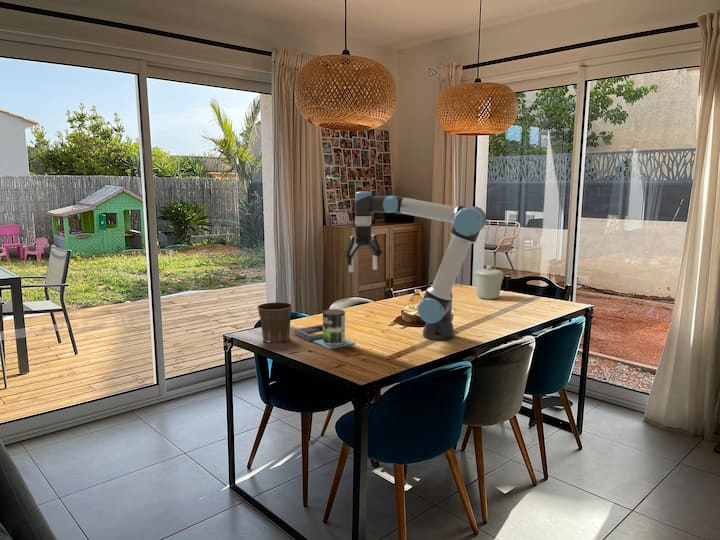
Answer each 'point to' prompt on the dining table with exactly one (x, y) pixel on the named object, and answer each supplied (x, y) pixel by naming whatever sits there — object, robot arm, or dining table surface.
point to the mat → (346, 343)
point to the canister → (488, 282)
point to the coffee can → (333, 326)
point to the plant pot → (275, 321)
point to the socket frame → (303, 331)
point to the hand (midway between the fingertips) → (363, 270)
